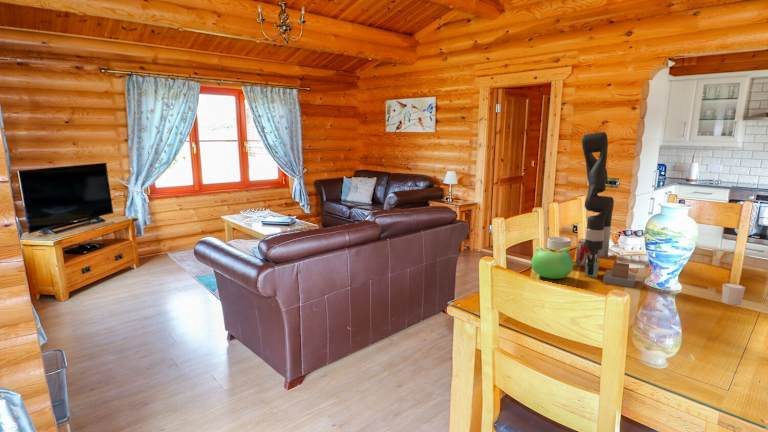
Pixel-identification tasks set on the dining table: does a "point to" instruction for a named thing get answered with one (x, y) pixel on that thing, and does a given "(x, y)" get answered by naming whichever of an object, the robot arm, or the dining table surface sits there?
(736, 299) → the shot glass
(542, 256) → the green round pot
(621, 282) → the slate base
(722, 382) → the dining table surface
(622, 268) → the walnut block
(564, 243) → the mug
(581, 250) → the soda can
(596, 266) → the teal block
